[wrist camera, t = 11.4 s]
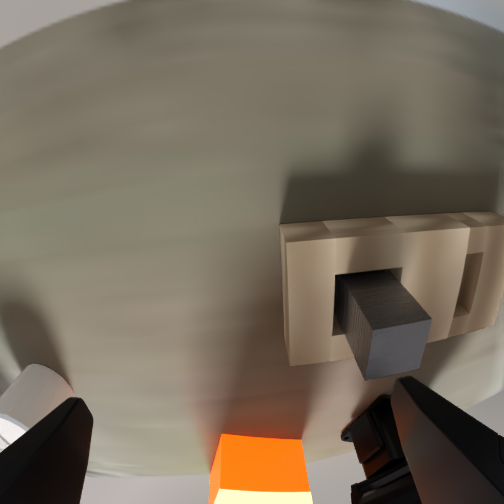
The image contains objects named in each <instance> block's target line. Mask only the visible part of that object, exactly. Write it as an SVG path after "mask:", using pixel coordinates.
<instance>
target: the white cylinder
mask: <svg viewBox="0 0 504 504" xmlns="http://www.w3.org/2000/svg"><path fill="white" fill-rule="evenodd" d="M69 397H75V395H74V393H73V391H72V388H71V387H70V386H69V384H68V383H67V382H66V381H65V380H64V378H62V377H61V376H60V375H59V374H57V373H56V372H55V371H53V370H51V369H49V368H47V367H45V366H44V365H39V364H31V365H28V366H27V367H26V368H25V369H24V370H23V371H22V373H21V374H20V375H19V376H18V377H17V378H16V380H15V381H14V382H13V383H12V384H11V385H10V387H9V388H8V389H7V390H6V391H5V393H4V394H3V395H2V396H1V397H0V438H1V439H2V440H3V441H4V442H5V443H6V444H7V445H10V444H12V443H13V442H14V441H15V440H17V439H18V438H19V437H20V436H22V435H23V434H24V433H25V432H27V431H28V430H29V429H30V428H31V427H33V426H34V425H35V424H36V423H38V422H39V421H40V420H41V419H43V418H44V417H45V416H46V415H48V414H49V413H50V412H51V411H52V410H54V409H55V408H56V407H57V406H59V405H60V404H61V403H62V402H64V401H65V400H66V399H67V398H69Z"/></svg>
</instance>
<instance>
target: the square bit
mask: <svg viewBox="0 0 504 504" xmlns="http://www.w3.org/2000/svg"><path fill="white" fill-rule="evenodd" d="M334 313H335V315H336V317H337V320H338V322H339V324H340V326H341V328H342V330H343V333H344V335H345V337H346V339H347V342H348V344H349V346H350V348H351V351H352V353H353V355H354V357H355V360H356V362H357V364H358V366H359V369H360V371H361V373H362V376H363V378H364V380H370V379H375V378H380V377H385V376H389V375H394V374H398V373H403V372H407V371H411V370H415V369H419V368H420V364H421V361H422V357H423V354H424V350H425V347H426V343H427V339H428V335H429V331H430V327H431V323H432V318H431V317H430V316H429V315H428V313H427V312H426V311H425V310H424V309H423V308H422V306H421V305H420V304H419V303H418V302H417V301H416V299H415V298H414V297H413V296H412V295H411V294H410V293H409V292H408V290H407V289H406V288H405V287H404V286H403V285H402V284H401V283H400V281H399V280H398V279H397V278H396V277H395V276H394V275H393V274H392V273H391V272H390V270H389V269H381V270H373V271H364V272H355V273H346V274H336V275H335V290H334Z"/></svg>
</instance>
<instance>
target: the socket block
mask: <svg viewBox="0 0 504 504" xmlns="http://www.w3.org/2000/svg"><path fill="white" fill-rule="evenodd" d="M279 228H280V247H281V267H282V289H283V313H284V338H285V343H286V349H287V354H288V359H289V364H290V366H299V365H307V364H315V363H322V362H330V361H336V360H343V359H349V358H355V357H354V355H353V353H352V351H351V348H350V346H349V344H348V342H347V339H346V337H345V335H344V333H343V330H342V328H341V326H340V324H339V322H338V320H337V317H336V315H335V313H334V290H335V275H336V274H346V273H355V272H364V271H373V270H381V269H389V270H390V272H391V273H392V274H393V275H394V276H395V277H396V278H397V279H398V280H399V281H400V283H401V284H402V285H403V286H404V287H405V288H406V289H407V290H408V292H409V293H410V294H411V295H412V296H413V297H414V298H415V299H416V301H417V302H418V303H419V304H420V305H421V306H422V308H423V309H424V310H425V311H426V312H427V313H428V315H429V316H430V317H431V318H432V323H431V327H430V331H429V335H428V339H427V343H430V342H434V341H438V340H442V339H446V338H450V337H454V336H458V335H462V334H465V333H469V332H473V331H476V330H480V329H483V328H486V327H490V326H493V325H494V322H495V319H496V316H497V313H498V310H499V306H500V303H501V299H502V296H503V292H504V217H503V216H501V215H499V214H497V213H494V212H492V211H487V212H463V213H442V214H423V215H405V216H389V217H373V218H358V219H343V220H329V221H316V222H303V223H290V224H279Z"/></svg>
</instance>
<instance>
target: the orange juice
mask: <svg viewBox="0 0 504 504" xmlns="http://www.w3.org/2000/svg"><path fill="white" fill-rule="evenodd" d="M209 504H313V502H312V497H311V492H310V489H309V483H308V477H307V472H306V465H305V459H304V453H303V448H302V442H301V440H291V439H272V438H258V437H247V436H237V435H228V434H222V435H221V438H220V442H219V445H218V449H217V452H216V456H215V459H214V463H213V466H212V470H211V473H210V487H209Z"/></svg>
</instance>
